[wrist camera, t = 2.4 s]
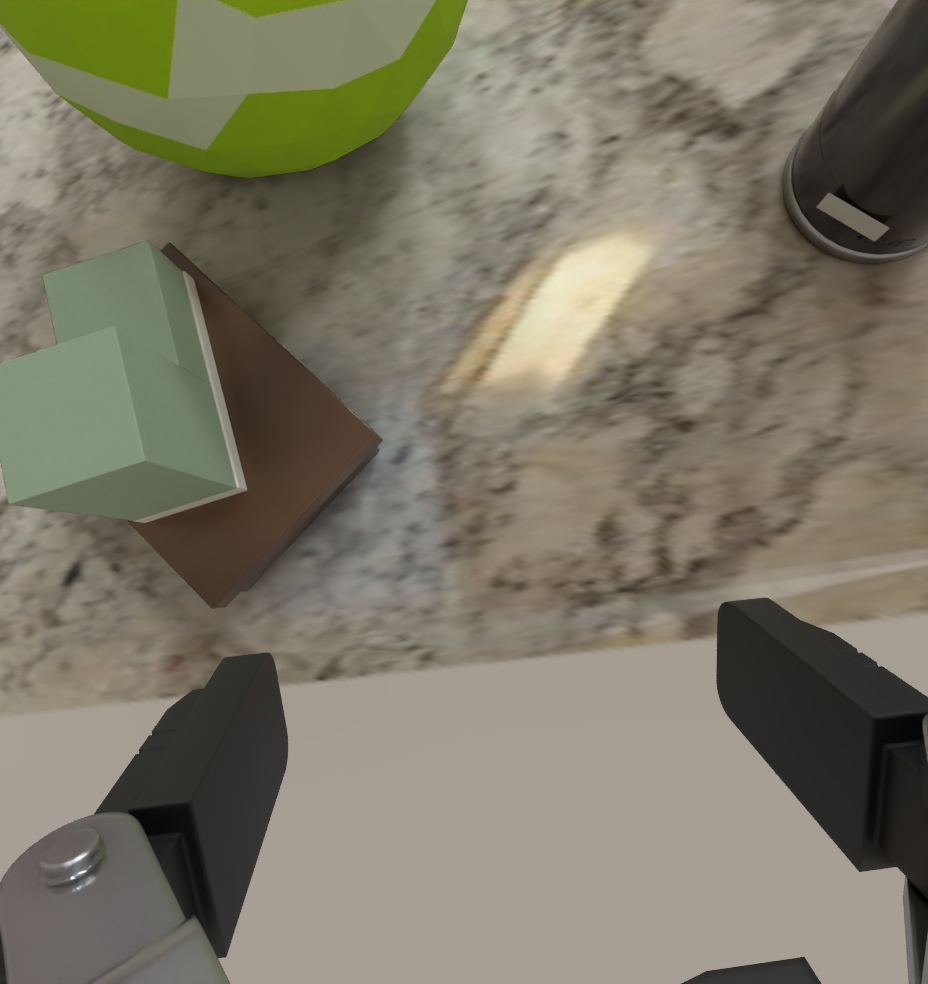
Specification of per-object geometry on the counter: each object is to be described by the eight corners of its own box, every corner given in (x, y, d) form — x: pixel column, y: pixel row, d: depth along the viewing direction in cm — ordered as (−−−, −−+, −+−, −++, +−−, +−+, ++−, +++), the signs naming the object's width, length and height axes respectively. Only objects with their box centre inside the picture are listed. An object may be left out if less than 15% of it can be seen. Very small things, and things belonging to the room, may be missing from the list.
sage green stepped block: (248, 490, 30) (147, 460, 22) (144, 523, 30) (5, 506, 22) (194, 279, 32) (82, 175, 23) (97, 311, 32) (-49, 220, 24)
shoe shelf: (66, 419, 36) (11, 401, 32) (205, 277, 36) (168, 241, 32) (246, 604, 33) (211, 609, 29) (392, 449, 34) (377, 433, 30)
